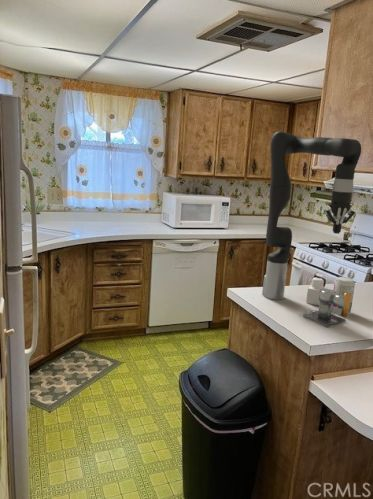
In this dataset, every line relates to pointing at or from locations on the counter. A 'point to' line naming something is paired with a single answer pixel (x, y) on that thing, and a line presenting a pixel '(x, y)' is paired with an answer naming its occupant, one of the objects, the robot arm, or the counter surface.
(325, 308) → the grey stand with base
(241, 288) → the counter surface
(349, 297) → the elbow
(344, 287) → the supplement can
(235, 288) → the counter surface
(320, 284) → the medicine bottle
